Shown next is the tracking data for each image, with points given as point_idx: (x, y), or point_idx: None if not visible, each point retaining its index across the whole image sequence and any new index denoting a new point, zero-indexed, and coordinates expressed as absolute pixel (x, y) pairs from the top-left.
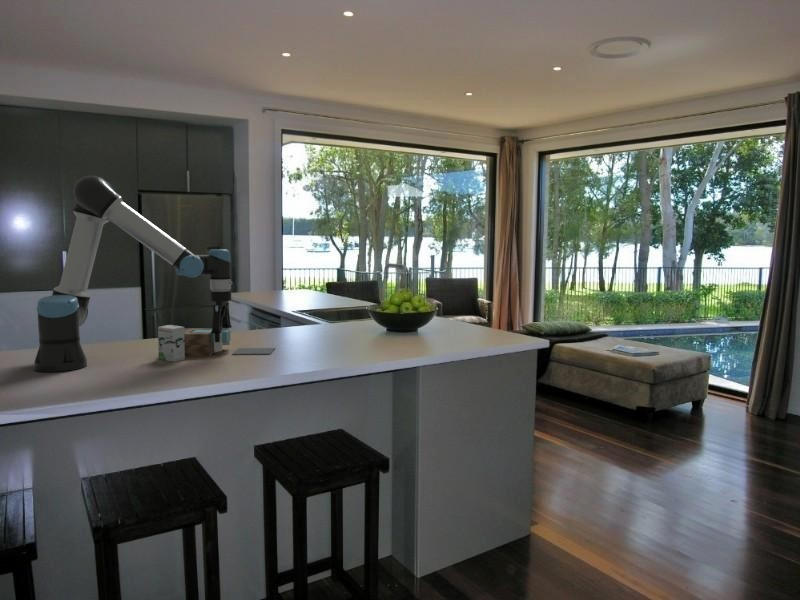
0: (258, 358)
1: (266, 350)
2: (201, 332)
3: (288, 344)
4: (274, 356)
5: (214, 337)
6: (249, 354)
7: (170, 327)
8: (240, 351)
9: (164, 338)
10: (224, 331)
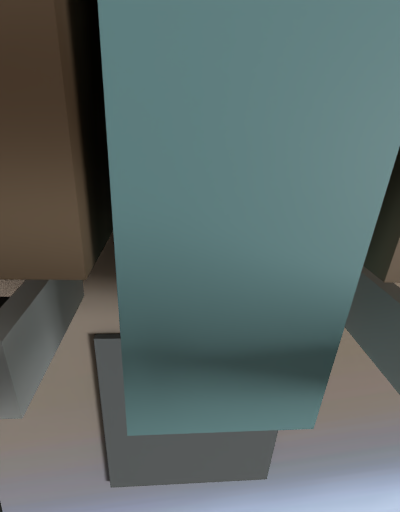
0: (6, 459)
1: (197, 462)
2: (105, 103)
3: (374, 493)
4: (69, 498)
5: (4, 312)
6: (103, 413)
7: None
8: None
9: None
10: (189, 406)
